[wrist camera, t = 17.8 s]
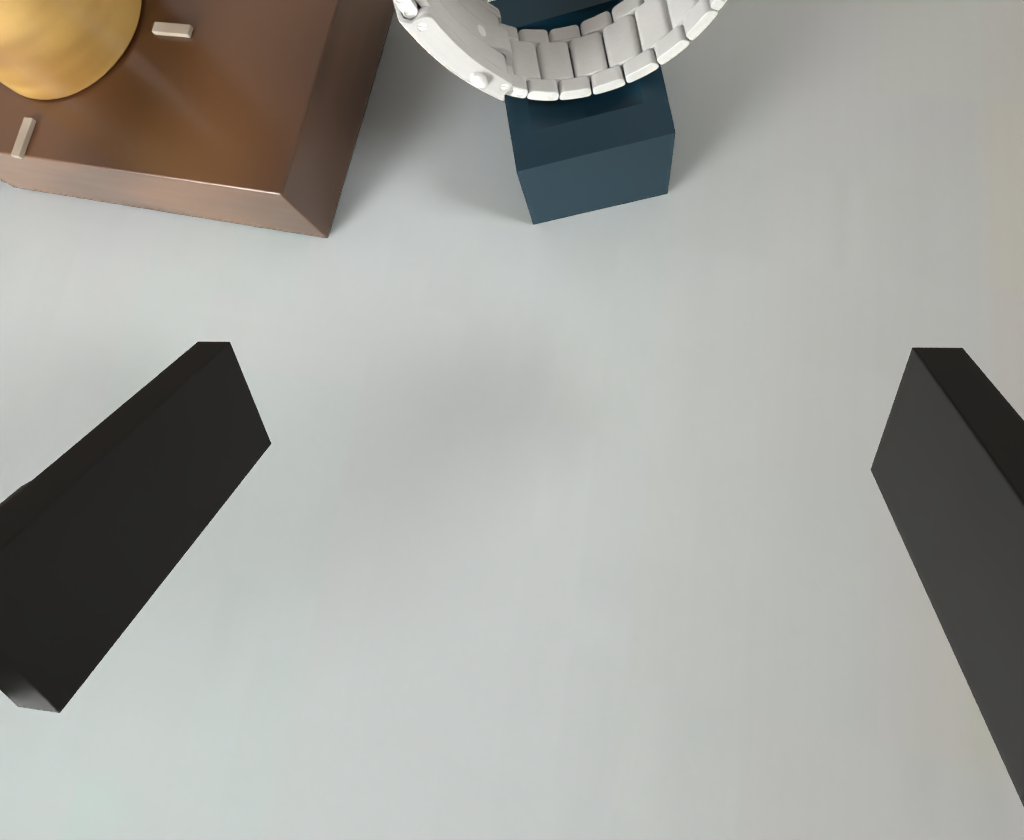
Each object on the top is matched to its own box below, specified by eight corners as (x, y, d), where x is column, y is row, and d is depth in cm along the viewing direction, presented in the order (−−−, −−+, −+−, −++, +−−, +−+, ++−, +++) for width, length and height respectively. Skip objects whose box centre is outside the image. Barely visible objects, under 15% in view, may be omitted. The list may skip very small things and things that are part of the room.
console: (-8, 186, 24) (-99, 138, 21) (72, -39, 25) (-4, -115, 22) (327, 241, 21) (277, 195, 18) (402, -19, 22) (367, -105, 19)
